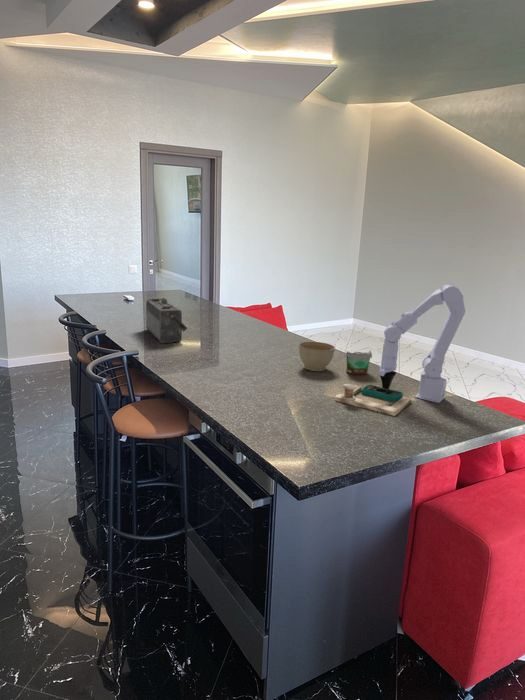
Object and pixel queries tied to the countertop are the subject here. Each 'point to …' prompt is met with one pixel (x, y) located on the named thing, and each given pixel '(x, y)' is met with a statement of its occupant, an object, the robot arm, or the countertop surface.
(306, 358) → the planter bowl
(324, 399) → the countertop surface
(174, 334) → the radio
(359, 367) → the food container
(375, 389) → the digital multimeter
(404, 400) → the notched board
